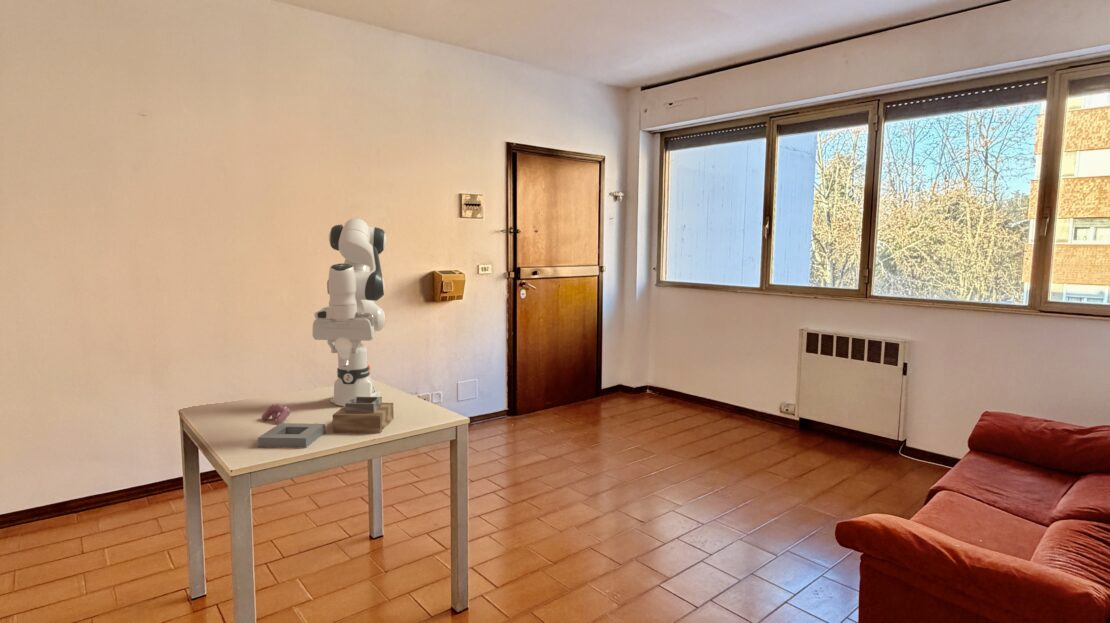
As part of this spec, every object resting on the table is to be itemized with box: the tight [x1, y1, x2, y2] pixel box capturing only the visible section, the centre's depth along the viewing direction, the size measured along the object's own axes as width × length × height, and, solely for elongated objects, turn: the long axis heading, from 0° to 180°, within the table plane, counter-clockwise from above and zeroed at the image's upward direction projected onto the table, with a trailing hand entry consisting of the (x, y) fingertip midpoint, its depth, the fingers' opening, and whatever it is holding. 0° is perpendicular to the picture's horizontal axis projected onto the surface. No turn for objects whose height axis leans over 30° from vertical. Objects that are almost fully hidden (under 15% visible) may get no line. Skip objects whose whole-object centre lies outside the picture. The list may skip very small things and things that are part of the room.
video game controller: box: [261, 403, 291, 425], centre depth 214 cm, size 10×5×7 cm, turn 61°
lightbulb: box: [333, 337, 354, 367], centre depth 203 cm, size 6×6×11 cm
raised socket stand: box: [332, 396, 395, 434], centre depth 209 cm, size 16×16×9 cm
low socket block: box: [257, 422, 326, 448], centre depth 194 cm, size 15×15×3 cm
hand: (344, 352), depth 203 cm, fingers closed on lightbulb, 6 cm apart
